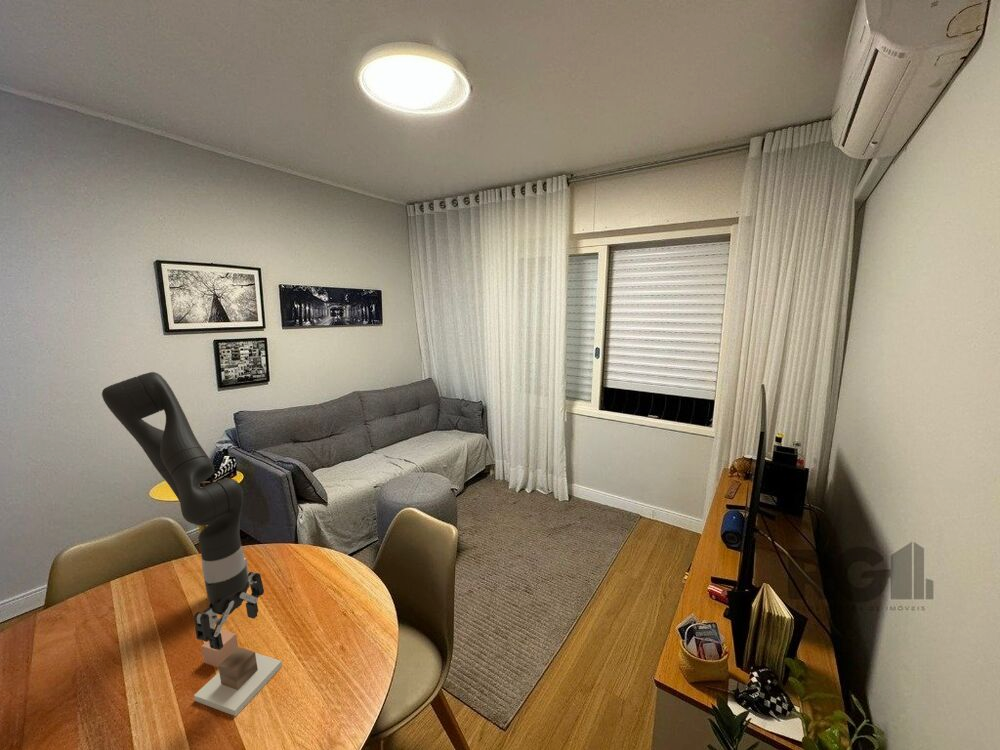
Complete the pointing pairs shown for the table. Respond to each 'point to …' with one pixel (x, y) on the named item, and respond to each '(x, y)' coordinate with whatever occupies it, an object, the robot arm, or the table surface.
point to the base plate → (238, 699)
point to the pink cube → (218, 656)
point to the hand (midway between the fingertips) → (236, 631)
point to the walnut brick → (237, 668)
